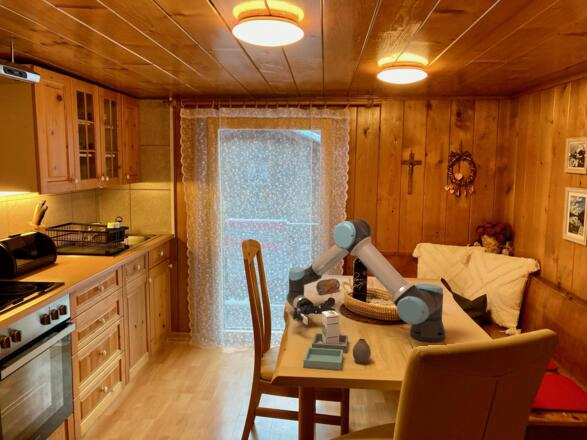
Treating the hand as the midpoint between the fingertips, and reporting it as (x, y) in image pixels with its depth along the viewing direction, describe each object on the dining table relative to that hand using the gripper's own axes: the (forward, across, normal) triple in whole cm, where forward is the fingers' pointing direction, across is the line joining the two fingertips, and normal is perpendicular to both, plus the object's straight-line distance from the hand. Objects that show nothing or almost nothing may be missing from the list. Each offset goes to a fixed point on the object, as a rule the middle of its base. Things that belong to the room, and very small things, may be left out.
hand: (321, 319), depth 207 cm
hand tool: (-36, -19, -9) cm, 42 cm away
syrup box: (+9, 0, -9) cm, 13 cm away
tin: (-63, -31, -9) cm, 71 cm away
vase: (+27, -5, -9) cm, 29 cm away
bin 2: (+23, +9, -8) cm, 26 cm away
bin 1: (+9, 0, -8) cm, 13 cm away
